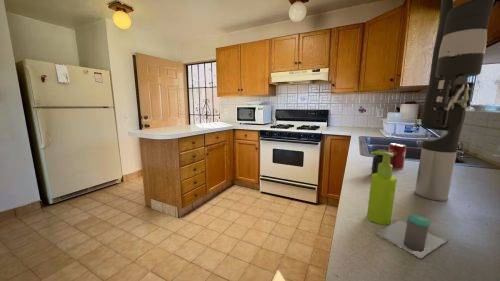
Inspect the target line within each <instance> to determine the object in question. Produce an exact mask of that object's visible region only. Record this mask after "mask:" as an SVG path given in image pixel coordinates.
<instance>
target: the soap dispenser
mask: <svg viewBox="0 0 500 281" xmlns="http://www.w3.org/2000/svg"><path fill="white" fill-rule="evenodd" d="M376 154H379V155H383V160H382V162H381V163H379V164H378V171H377V173H374V174H371V178H370V179H371V181H370V189H369V197H368V203H367V204H368V206H367V211H366V217H368V218H367V219H368V220H369V219H370V220H371V221H370V220H369V221H370V222H372V221H373V222H372V223H374V222H375V224H377V223H378V224H377V225H381V224H383V225H384V226H388V225H391V221H392V214H393V207H394V200H395V193H396V186H397V180H398V179H397V177H395V176H393V169H394V168H393V165H391V164H390V157H393V153H388V152H383V151H376V150H375V151H374V150H372V151H370V155H376ZM387 224H388V225H387ZM383 225H382V226H383Z"/></svg>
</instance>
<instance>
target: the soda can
mask: <svg viewBox="0 0 500 281" xmlns="http://www.w3.org/2000/svg"><path fill="white" fill-rule="evenodd" d="M388 151H389V153H393V157H390V164H391V165H393V168H392V169H395V170H402V169H404V166H405V159H406V153H407V145H406V144H403V143H395V142H394V143H393V142H391V143H390V144H389V146H388Z"/></svg>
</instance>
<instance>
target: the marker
mask: <svg viewBox="0 0 500 281" xmlns="http://www.w3.org/2000/svg"><path fill="white" fill-rule="evenodd" d="M430 224H431V220H429V218H427V217H425V216H422V215H419V214H417V213H415V214H414V213H410V214H408V215H407V227H406V232H405V237H404V245H405V246H406V247H408V248H409V249H412V250H414V251H419V252H422V251H424V247H425V242H426V238H427V233H428V230H429V227H430Z"/></svg>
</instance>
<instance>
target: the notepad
mask: <svg viewBox="0 0 500 281" xmlns="http://www.w3.org/2000/svg"><path fill="white" fill-rule="evenodd" d="M407 221H408V219H407V220H406V219H404V218H402V219H400V220H399V221H396V222H394V223H392V224H389V225H387V226H385V227H384V228H381V229H379V230H377V231H375V235H376V234H378V235H380V236H382V237H383V238H386V239H387V240H389V241H391V242H393V243H395V244H397V245H399V246H401V247H402V248H405V249H406V250H408V251H411V252H413V251H414V250H412V249H409V248H408V247H406V246H405V245H404V237H405V232H406V227H407ZM378 235H377V236H378ZM380 236H379V237H380ZM383 238H382V239H383ZM387 240H386V241H387ZM446 240H448V241H449V239H448V238H447V237H444V236H442V235H440V234H437V233H436V232H433V231H431V230H429V229H428V233H427V238H426V242H425V247H424V248H426V247H427V248H428V245H429V247H431V245H434V247H435V245H436V247H437V245H438V246H439V245H440V244H442V243H443V242H445V241H446Z"/></svg>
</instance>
